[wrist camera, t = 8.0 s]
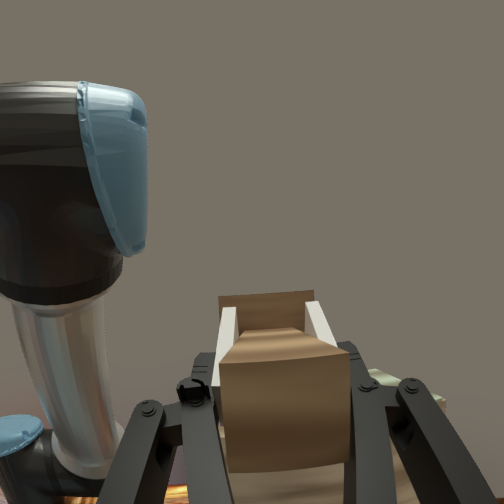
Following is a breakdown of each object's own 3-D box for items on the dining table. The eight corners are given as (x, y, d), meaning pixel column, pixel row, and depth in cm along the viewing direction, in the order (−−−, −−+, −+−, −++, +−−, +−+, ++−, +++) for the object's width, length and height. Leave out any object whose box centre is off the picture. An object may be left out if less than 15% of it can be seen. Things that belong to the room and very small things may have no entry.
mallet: (398, 469, 7) (397, 252, 9) (174, 491, 8) (151, 268, 9) (302, 363, 33) (298, 296, 34) (233, 367, 33) (229, 300, 35)
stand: (401, 576, 15) (446, 396, 21) (235, 603, 15) (204, 433, 21) (367, 517, 32) (378, 368, 38) (242, 533, 32) (226, 384, 38)
